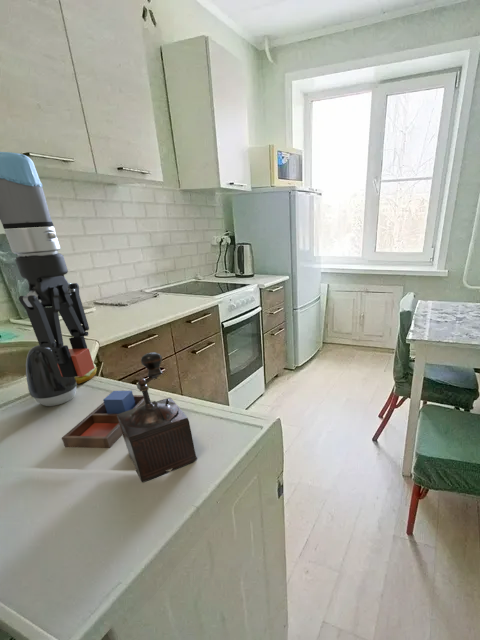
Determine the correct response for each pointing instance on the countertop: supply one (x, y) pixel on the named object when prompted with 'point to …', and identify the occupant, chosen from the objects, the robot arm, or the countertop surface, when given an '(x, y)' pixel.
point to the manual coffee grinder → (156, 430)
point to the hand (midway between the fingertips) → (78, 371)
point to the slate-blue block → (119, 402)
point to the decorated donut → (86, 376)
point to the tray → (97, 428)
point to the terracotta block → (81, 361)
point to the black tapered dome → (47, 378)
